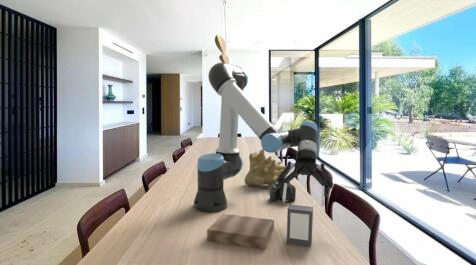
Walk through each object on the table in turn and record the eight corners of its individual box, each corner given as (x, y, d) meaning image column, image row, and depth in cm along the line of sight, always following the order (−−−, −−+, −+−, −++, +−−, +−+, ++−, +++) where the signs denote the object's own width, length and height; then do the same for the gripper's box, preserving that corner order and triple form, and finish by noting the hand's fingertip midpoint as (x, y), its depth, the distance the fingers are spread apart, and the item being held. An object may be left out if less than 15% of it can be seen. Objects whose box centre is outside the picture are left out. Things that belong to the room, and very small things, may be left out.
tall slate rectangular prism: (286, 243, 102) (287, 209, 101) (288, 237, 107) (289, 204, 106) (311, 247, 100) (312, 211, 99) (311, 241, 105) (313, 207, 103)
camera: (274, 204, 143) (275, 183, 142) (266, 198, 152) (267, 178, 151) (300, 202, 146) (301, 182, 145) (291, 196, 156) (292, 177, 155)
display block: (207, 240, 104) (207, 229, 103) (222, 223, 119) (222, 213, 118) (264, 249, 98) (265, 237, 97) (273, 230, 113) (274, 219, 113)
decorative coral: (232, 161, 185) (265, 136, 182) (253, 186, 192) (285, 162, 189) (237, 181, 161) (275, 153, 158) (261, 208, 168) (298, 182, 165)
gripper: (274, 147, 122) (266, 193, 109) (340, 149, 115) (340, 200, 102) (276, 157, 128) (269, 203, 115) (339, 161, 121) (339, 210, 108)
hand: (302, 202), depth 108 cm, fingers open, 13 cm apart
